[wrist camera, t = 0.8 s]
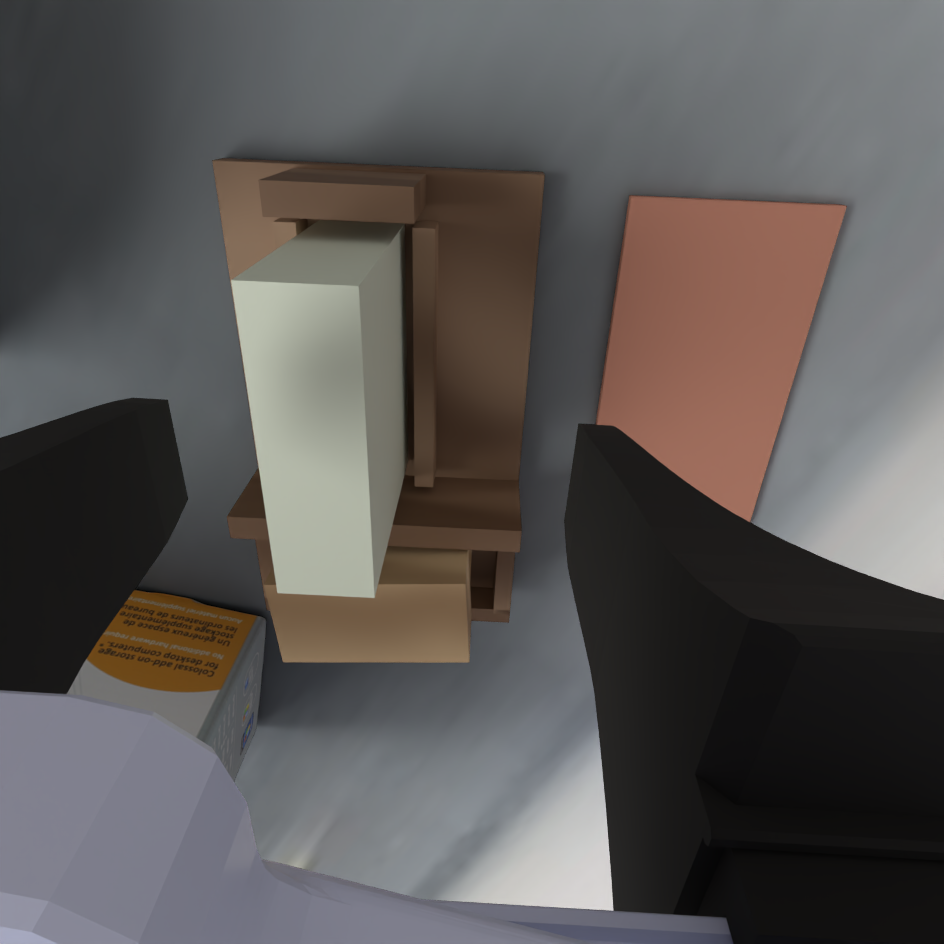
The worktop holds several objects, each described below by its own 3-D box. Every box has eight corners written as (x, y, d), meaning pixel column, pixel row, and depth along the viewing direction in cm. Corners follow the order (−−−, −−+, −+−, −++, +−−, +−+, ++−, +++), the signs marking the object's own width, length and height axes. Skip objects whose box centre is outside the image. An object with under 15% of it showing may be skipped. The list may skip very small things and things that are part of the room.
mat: (744, 524, 24) (747, 529, 23) (581, 516, 24) (582, 521, 24) (841, 204, 18) (846, 206, 18) (629, 195, 18) (631, 196, 18)
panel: (408, 460, 22) (374, 598, 16) (337, 456, 22) (277, 592, 16) (405, 223, 18) (359, 285, 12) (319, 219, 18) (231, 280, 12)
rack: (508, 587, 26) (509, 659, 22) (282, 576, 26) (250, 645, 22) (543, 172, 18) (553, 188, 15) (223, 157, 18) (162, 170, 15)
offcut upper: (471, 614, 22) (469, 662, 20) (301, 614, 23) (282, 662, 21) (468, 539, 21) (465, 584, 19) (284, 541, 21) (263, 585, 19)
